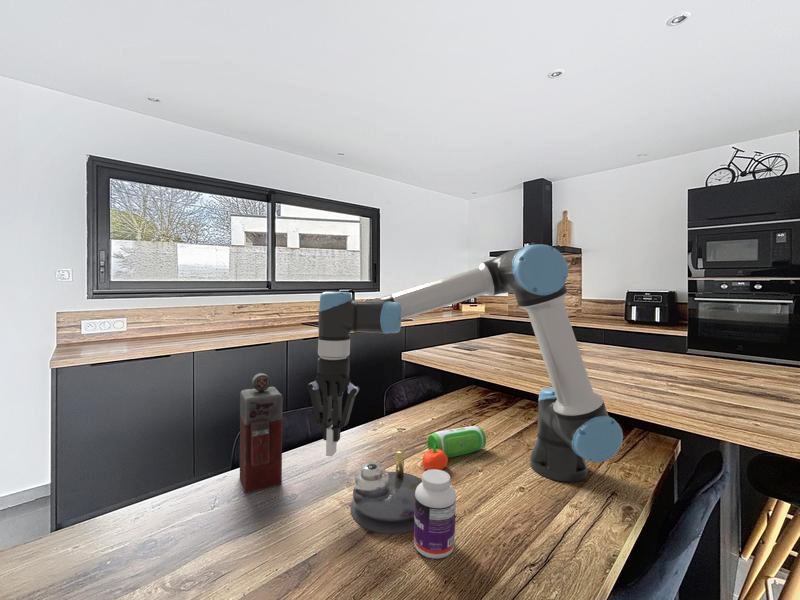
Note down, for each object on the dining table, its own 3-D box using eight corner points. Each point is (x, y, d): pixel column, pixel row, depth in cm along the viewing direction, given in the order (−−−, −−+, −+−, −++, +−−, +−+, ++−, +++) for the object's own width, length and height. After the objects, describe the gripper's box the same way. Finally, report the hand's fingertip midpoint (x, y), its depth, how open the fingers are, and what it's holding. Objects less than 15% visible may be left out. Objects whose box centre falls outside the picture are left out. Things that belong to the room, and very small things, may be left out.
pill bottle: (411, 534, 78) (413, 466, 78) (449, 532, 79) (451, 465, 79) (416, 562, 70) (418, 487, 70) (458, 561, 71) (461, 486, 71)
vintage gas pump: (246, 498, 90) (246, 382, 89) (239, 476, 100) (240, 372, 99) (284, 488, 95) (285, 378, 93) (274, 469, 104) (275, 368, 103)
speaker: (437, 463, 110) (438, 438, 110) (425, 453, 117) (426, 429, 116) (486, 453, 117) (487, 429, 117) (473, 444, 124) (473, 421, 124)
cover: (392, 481, 92) (392, 460, 92) (383, 499, 84) (383, 477, 84) (361, 476, 94) (361, 456, 93) (349, 494, 86) (349, 472, 86)
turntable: (437, 485, 94) (438, 453, 94) (425, 530, 77) (426, 492, 76) (367, 474, 99) (368, 444, 98) (340, 515, 81) (341, 479, 81)
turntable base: (438, 491, 95) (438, 485, 95) (425, 541, 76) (425, 534, 76) (366, 480, 99) (366, 475, 99) (337, 525, 81) (337, 518, 81)
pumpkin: (419, 475, 104) (417, 452, 104) (427, 462, 111) (425, 441, 111) (444, 477, 101) (442, 453, 101) (451, 464, 109) (449, 442, 109)
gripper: (365, 355, 92) (362, 450, 93) (315, 351, 95) (313, 443, 96) (354, 361, 85) (351, 464, 86) (301, 357, 88) (298, 456, 89)
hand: (331, 453), depth 91 cm, fingers closed
